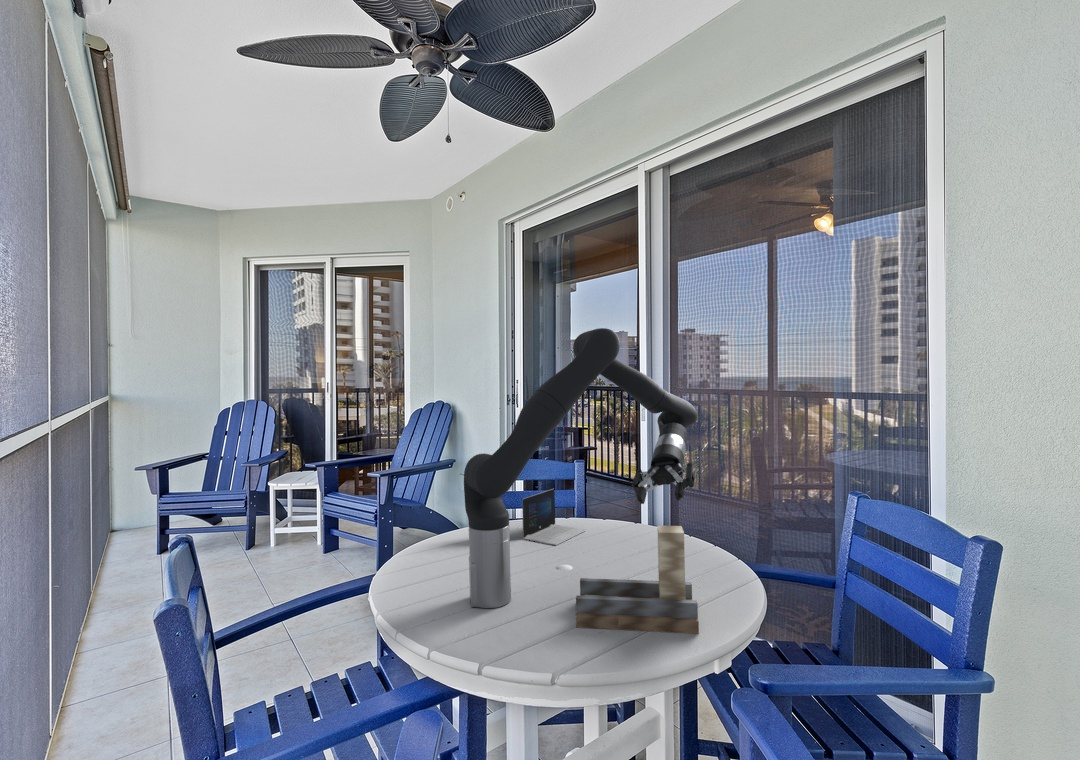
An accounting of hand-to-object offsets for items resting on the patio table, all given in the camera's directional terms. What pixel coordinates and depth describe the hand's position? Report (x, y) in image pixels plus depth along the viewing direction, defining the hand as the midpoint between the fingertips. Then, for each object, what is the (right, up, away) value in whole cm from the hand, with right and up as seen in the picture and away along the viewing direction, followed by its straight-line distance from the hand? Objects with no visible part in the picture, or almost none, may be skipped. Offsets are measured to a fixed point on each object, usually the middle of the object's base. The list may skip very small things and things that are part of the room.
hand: (658, 499), depth 121 cm
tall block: (+1, -20, -9) cm, 22 cm away
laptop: (-22, -23, +51) cm, 60 cm away
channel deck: (-7, -23, -8) cm, 25 cm away
